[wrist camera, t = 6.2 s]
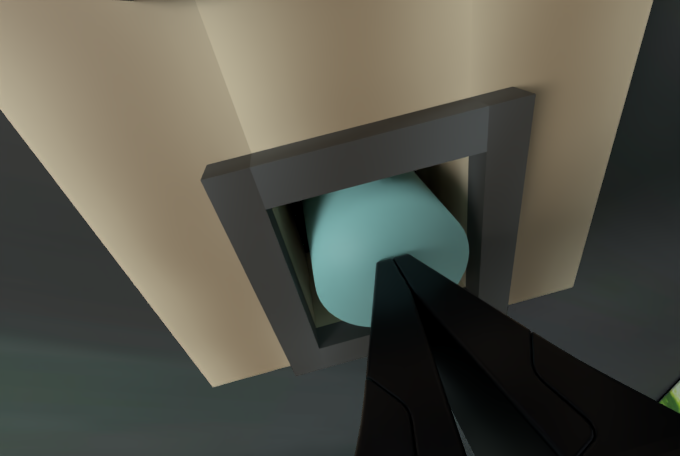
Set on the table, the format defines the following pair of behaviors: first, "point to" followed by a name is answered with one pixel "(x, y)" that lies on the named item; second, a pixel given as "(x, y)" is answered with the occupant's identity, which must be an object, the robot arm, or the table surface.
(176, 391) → the table surface
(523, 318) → the table surface
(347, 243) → the peg teal
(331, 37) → the oak block
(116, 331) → the table surface
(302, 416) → the table surface
